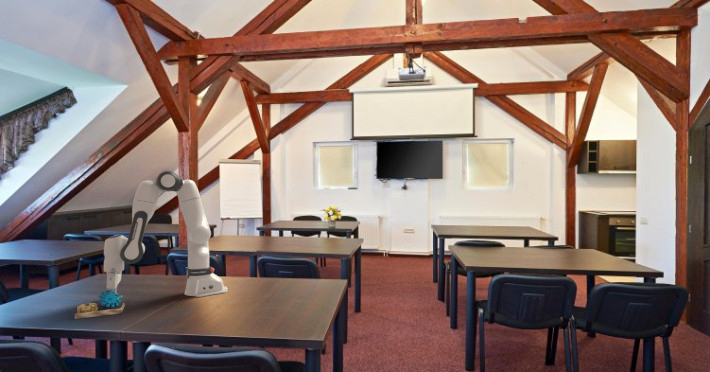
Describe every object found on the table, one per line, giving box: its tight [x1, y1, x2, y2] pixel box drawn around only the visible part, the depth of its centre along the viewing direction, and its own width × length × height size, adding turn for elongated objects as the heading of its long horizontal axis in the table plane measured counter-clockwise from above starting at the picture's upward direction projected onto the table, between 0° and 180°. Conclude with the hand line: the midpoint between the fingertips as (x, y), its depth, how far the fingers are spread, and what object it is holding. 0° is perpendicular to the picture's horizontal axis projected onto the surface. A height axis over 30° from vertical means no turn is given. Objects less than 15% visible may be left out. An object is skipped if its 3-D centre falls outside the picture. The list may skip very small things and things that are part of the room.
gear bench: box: [74, 302, 126, 320], centre depth 175 cm, size 18×12×2 cm
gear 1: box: [76, 301, 98, 313], centre depth 173 cm, size 7×7×4 cm
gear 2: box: [98, 289, 124, 309], centre depth 184 cm, size 11×6×10 cm
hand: (113, 294), depth 190 cm, fingers closed
